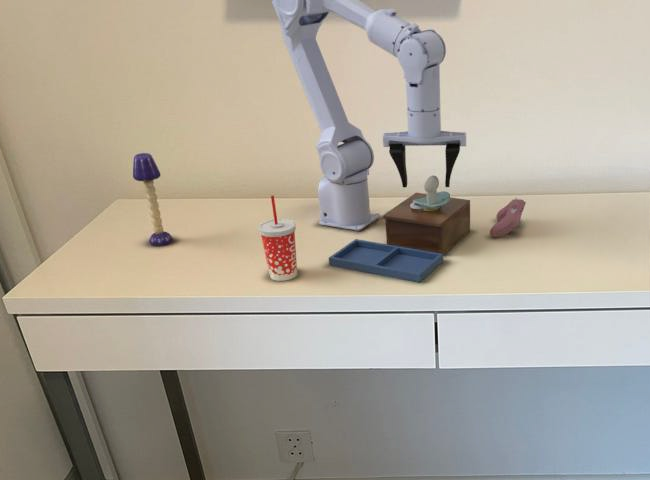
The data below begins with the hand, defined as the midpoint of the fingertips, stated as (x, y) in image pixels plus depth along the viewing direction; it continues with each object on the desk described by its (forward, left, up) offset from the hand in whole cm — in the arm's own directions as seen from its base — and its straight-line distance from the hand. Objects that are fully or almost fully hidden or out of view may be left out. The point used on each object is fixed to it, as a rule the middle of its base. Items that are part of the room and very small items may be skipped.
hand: (426, 185), depth 136 cm
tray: (-2, -13, -10) cm, 17 cm away
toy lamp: (-46, -21, -10) cm, 51 cm away
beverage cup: (-16, -24, -10) cm, 30 cm away
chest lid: (0, 0, -5) cm, 5 cm away
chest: (0, 0, -10) cm, 10 cm away
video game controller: (+12, +10, -11) cm, 19 cm away
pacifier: (0, 0, -4) cm, 4 cm away
